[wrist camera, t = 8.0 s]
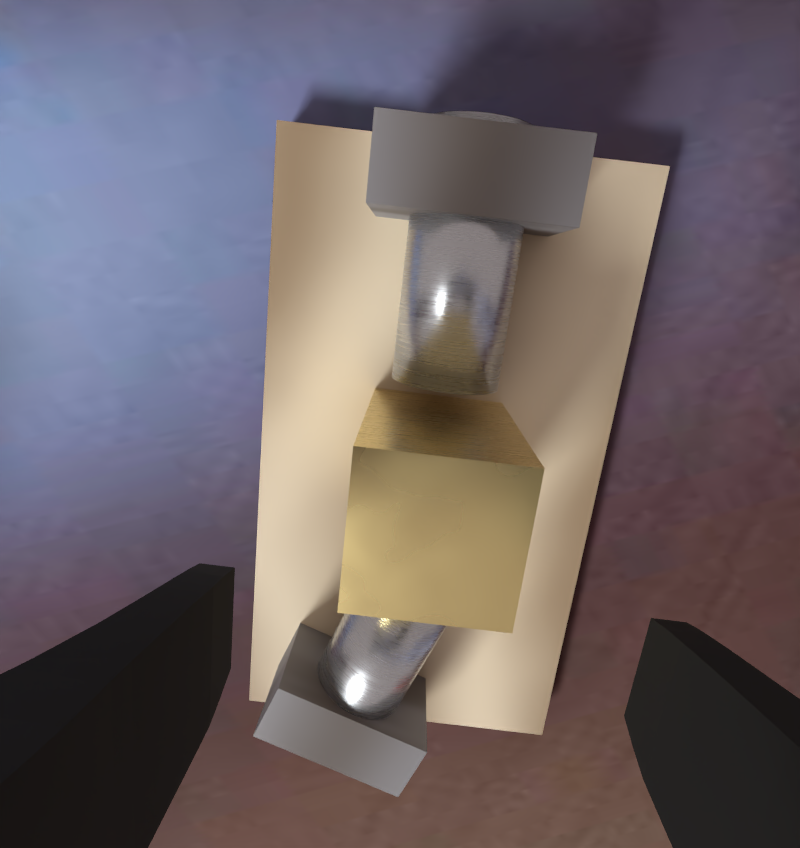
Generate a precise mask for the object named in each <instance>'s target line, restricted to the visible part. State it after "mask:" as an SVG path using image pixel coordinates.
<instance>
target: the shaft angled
mask: <svg viewBox="0 0 800 848" xmlns="http://www.w3.org/2000/svg"><path fill="white" fill-rule="evenodd" d="M445 628H446V626H445V625H436V624H428V623H419V622H411V621H403V620H394V619H386V618H377V617H369V616H360V615H352V614H344V615H343V617H342V619H341V621H340V622H339V624H338V626H337V628H336V630H335V632H334V633H333V635H332V637H331V639H330V641H329V643H328V644H327V646H326V648H325V650H324V652H323V654H322V656H321V657H320V659H319V662H318V677H319V680H320V683H321V685H322V687H323V689H324V690H325V692H326V693H327V695H328V696H329V697H330V698H331V699H332V701H333V702H335V703H336V704H337V705H338V706H339V707H340V708H342V709H343V710H345V711H346V712H348V713H350V714H352V715H354V716H357V717H359V718H363V719H368V720H379V719H384V718H386V717H388V716H390V715H391V714H393V713H394V711H395V710H396V709H397V707H398V705H399V704H400V702H401V700H402V699H403V697H404V696H405V694H406V692H407V691H408V689H409V687H410V686H411V684H412V682H413V681H414V679H415V677H416V676H417V674H418V673H419V671H420V669H421V668H422V666H423V664H424V663H425V661H426V659H427V658H428V656H429V654H430V653H431V651H432V649H433V648H434V646H435V645H436V643H437V641H438V640H439V638H440V636H441V635H442V633H443V631H444V630H445Z"/></svg>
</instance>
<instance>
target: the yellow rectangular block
mask: <svg viewBox="0 0 800 848" xmlns="http://www.w3.org/2000/svg"><path fill="white" fill-rule="evenodd" d="M544 470H545V468H544V467H543V465H542V464H541V462H540V461H539V459H538V457H537V456H536V454H535V453H534V451H533V450H532V448H531V447H530V445H529V444H528V442H527V440H526V439H525V437H524V436H523V434H522V433H521V431H520V430H519V428H518V427H517V425H516V423H515V422H514V420H513V419H512V417H511V416H510V414H509V413H508V411H507V410H506V408H505V406H504V405H503V403H499V402H491V401H482V400H474V399H465V398H457V397H448V396H440V395H432V394H423V393H415V392H406V391H398V390H389V389H381V388H375V390H374V392H373V395H372V398H371V400H370V403H369V406H368V408H367V411H366V413H365V416H364V419H363V421H362V424H361V427H360V429H359V432H358V435H357V437H356V440H355V442H354V445H353V453H352V464H351V474H350V485H349V495H348V506H347V516H346V527H345V537H344V548H343V558H342V569H341V579H340V590H339V600H338V611H337V613H344V614H352V615H360V616H369V617H377V618H386V619H394V620H403V621H411V622H419V623H428V624H436V625H445V626H453V627H462V628H470V629H478V630H487V631H495V632H504V633H513V628H514V623H515V618H516V613H517V608H518V602H519V597H520V592H521V587H522V582H523V577H524V572H525V567H526V562H527V556H528V551H529V546H530V541H531V536H532V531H533V526H534V521H535V516H536V511H537V505H538V500H539V495H540V490H541V485H542V480H543V475H544Z"/></svg>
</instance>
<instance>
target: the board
mask: <svg viewBox="0 0 800 848" xmlns="http://www.w3.org/2000/svg"><path fill="white" fill-rule="evenodd" d="M596 138H597V133H593V132H585V131H576V130H567V129H559V128H550V127H542V126H533V125H525V124H516V123H508V122H499V121H490V120H482V119H473V118H465V117H456V116H448V115H439V114H431V113H422V112H413V111H405V110H396V109H388V108H379V107H374V116H373V127H372V131H365V130H356V129H348V128H339V127H331V126H322V125H314V124H305V123H297V122H288V121H280V120H277V127H276V148H275V169H274V190H273V211H272V232H271V254H270V275H269V296H268V317H267V338H266V359H265V380H264V401H263V422H262V443H261V464H260V485H259V506H258V527H257V549H256V570H255V591H254V612H253V633H252V654H251V675H250V696H249V700H251V701H260V702H265V704H264V707H263V710H262V713H261V715H260V718H259V721H258V724H257V727H256V729H255V732H254V735H253V736H254V737H256V738H259V739H261V740H263V741H266V742H268V743H270V744H273V745H275V746H278V747H280V748H282V749H285V750H287V751H290V752H292V753H294V754H297V755H299V756H301V757H304V758H306V759H309V760H311V761H313V762H316V763H318V764H320V765H323V766H325V767H328V768H330V769H332V770H335V771H337V772H339V773H342V774H344V775H347V776H349V777H351V778H354V779H356V780H359V781H361V782H363V783H366V784H368V785H370V786H373V787H375V788H378V789H380V790H382V791H385V792H387V793H389V794H392V795H394V796H397V797H398V796H399V795H400V793H401V792H402V790H403V789H404V787H405V786H406V784H407V782H408V781H409V779H410V778H411V776H412V775H413V773H414V772H415V770H416V768H417V767H418V765H419V764H420V762H421V761H422V759H423V758H424V756H425V755H426V753H427V729H426V721H428V722H437V723H445V724H454V725H462V726H471V727H479V728H488V729H496V730H504V731H513V732H521V733H530V734H538V735H542V733H543V728H544V724H545V719H546V715H547V710H548V706H549V702H550V697H551V693H552V688H553V684H554V679H555V675H556V670H557V666H558V662H559V657H560V653H561V648H562V644H563V639H564V635H565V630H566V626H567V622H568V617H569V613H570V608H571V604H572V599H573V595H574V591H575V586H576V582H577V577H578V573H579V568H580V564H581V559H582V555H583V551H584V546H585V542H586V537H587V533H588V528H589V524H590V519H591V515H592V511H593V506H594V502H595V497H596V493H597V488H598V484H599V479H600V475H601V471H602V466H603V462H604V457H605V453H606V448H607V444H608V439H609V435H610V431H611V426H612V422H613V417H614V413H615V408H616V404H617V399H618V395H619V391H620V386H621V382H622V377H623V373H624V368H625V364H626V359H627V355H628V351H629V346H630V342H631V337H632V333H633V328H634V324H635V319H636V315H637V311H638V306H639V302H640V297H641V293H642V288H643V284H644V279H645V275H646V271H647V266H648V262H649V257H650V253H651V248H652V244H653V239H654V235H655V231H656V226H657V222H658V217H659V213H660V208H661V204H662V200H663V195H664V191H665V186H666V182H667V177H668V173H669V168H670V166H664V165H656V164H647V163H639V162H630V161H621V160H613V159H604V158H596V157H593V154H594V149H595V143H596ZM413 213H445V214H457V215H467V216H476V217H483V218H490V219H497V220H502V221H507V222H512V223H516V224H519V225H522V226H523V227H524V232H523V238H522V244H521V250H520V256H519V262H518V268H517V274H516V280H515V287H514V293H513V299H512V305H511V311H510V317H509V323H508V329H507V335H506V341H505V348H504V354H503V360H502V366H501V372H500V378H499V384H498V390H497V392H495V393H492V394H486V395H461V394H449V393H441V392H435V391H429V390H424V389H419V388H415V387H411V386H408V385H405V384H402V383H400V382H397V381H396V380H394V379H393V378H392V370H393V361H394V352H395V343H396V334H397V325H398V316H399V307H400V297H401V288H402V279H403V270H404V261H405V252H406V243H407V234H408V225H409V216H410V214H413ZM375 388H381V389H389V390H398V391H406V392H415V393H423V394H432V395H440V396H448V397H457V398H465V399H474V400H482V401H491V402H499V403H503V405H504V406H505V408H506V410H507V411H508V413H509V414H510V416H511V417H512V419H513V420H514V422H515V423H516V425H517V427H518V428H519V430H520V431H521V433H522V434H523V436H524V437H525V439H526V440H527V442H528V444H529V445H530V447H531V448H532V450H533V451H534V453H535V454H536V456H537V457H538V459H539V461H540V462H541V464H542V465H543V467H544V468H545V470H544V475H543V480H542V485H541V490H540V495H539V500H538V505H537V511H536V516H535V521H534V526H533V531H532V536H531V541H530V546H529V551H528V556H527V562H526V567H525V572H524V577H523V582H522V587H521V592H520V597H519V602H518V608H517V613H516V618H515V623H514V628H513V633H504V632H495V631H487V630H478V629H470V628H462V627H453V626H446V628H445V630H444V631H443V633H442V635H441V636H440V638H439V640H438V641H437V643H436V645H435V646H434V648H433V649H432V651H431V653H430V654H429V656H428V658H427V659H426V661H425V663H424V664H423V666H422V668H421V669H420V671H419V673H418V674H417V676H416V677H415V679H414V681H413V682H412V684H411V686H410V687H409V689H408V691H407V692H406V694H405V696H404V697H403V699H402V700H401V702H400V704H399V705H398V707H397V709H396V710H395V711H394V713H393V714H391V715H390V716H388V717H386V718H384V719H379V720H368V719H363V718H359V717H357V716H354V715H352V714H350V713H348V712H346V711H345V710H343V709H342V708H340V707H339V706H338V705H337V704H336V703H335V702H333V701H332V699H331V698H330V697H329V696H328V695H327V693H326V692H325V690H324V689H323V687H322V685H321V683H320V680H319V677H318V662H319V659H320V657H321V656H322V654H323V652H324V650H325V648H326V646H327V644H328V643H329V641H330V639H331V637H332V635H333V633H334V632H335V630H336V628H337V626H338V624H339V622H340V621H341V619H342V617H343V615H344V613H337V611H338V600H339V590H340V579H341V569H342V558H343V548H344V537H345V527H346V516H347V506H348V495H349V485H350V474H351V464H352V453H353V445H354V442H355V440H356V437H357V435H358V432H359V429H360V427H361V424H362V421H363V419H364V416H365V413H366V411H367V408H368V406H369V403H370V400H371V398H372V395H373V392H374V390H375Z"/></svg>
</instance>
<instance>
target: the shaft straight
mask: <svg viewBox="0 0 800 848" xmlns="http://www.w3.org/2000/svg"><path fill="white" fill-rule="evenodd" d="M434 114H439V115H448V116H456V117H465V118H473V119H482V120H490V121H499V122H508V123H516V124H525V125H532V124H530V123H528V122H525V121H523V120H520V119H516V118H513V117H509V116H504V115H499V114H493V113H486V112H474V111H449V112H440V113H434ZM523 232H524V227H523V226H522V225H519V224H516V223H512V222H507V221H502V220H497V219H490V218H483V217H476V216H467V215H457V214H445V213H413V214H410V216H409V225H408V234H407V243H406V252H405V261H404V270H403V279H402V288H401V297H400V307H399V316H398V325H397V334H396V343H395V352H394V361H393V370H392V378H393V379H394V380H396V381H397V382H400V383H402V384H405V385H408V386H411V387H415V388H419V389H424V390H429V391H435V392H441V393H449V394H461V395H486V394H492V393H495V392H497V390H498V384H499V378H500V372H501V366H502V360H503V354H504V348H505V341H506V335H507V329H508V323H509V317H510V311H511V305H512V299H513V293H514V287H515V280H516V274H517V268H518V262H519V256H520V250H521V244H522V238H523Z"/></svg>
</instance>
